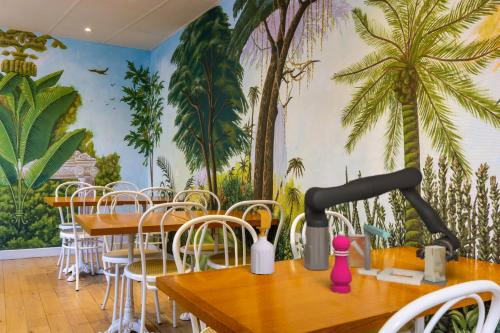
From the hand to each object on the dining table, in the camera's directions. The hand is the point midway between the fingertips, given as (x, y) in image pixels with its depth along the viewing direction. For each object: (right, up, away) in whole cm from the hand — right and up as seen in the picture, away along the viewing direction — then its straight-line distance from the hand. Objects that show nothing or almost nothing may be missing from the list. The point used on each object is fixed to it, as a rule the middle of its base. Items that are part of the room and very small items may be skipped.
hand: (434, 258), depth 152 cm
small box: (-21, -9, +27) cm, 35 cm away
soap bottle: (-61, -9, +16) cm, 64 cm away
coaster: (+1, -9, +2) cm, 9 cm away
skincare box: (+1, -9, +2) cm, 9 cm away
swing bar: (-19, +8, +6) cm, 22 cm away
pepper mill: (-35, -9, -9) cm, 38 cm away
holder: (-12, -9, +10) cm, 18 cm away
